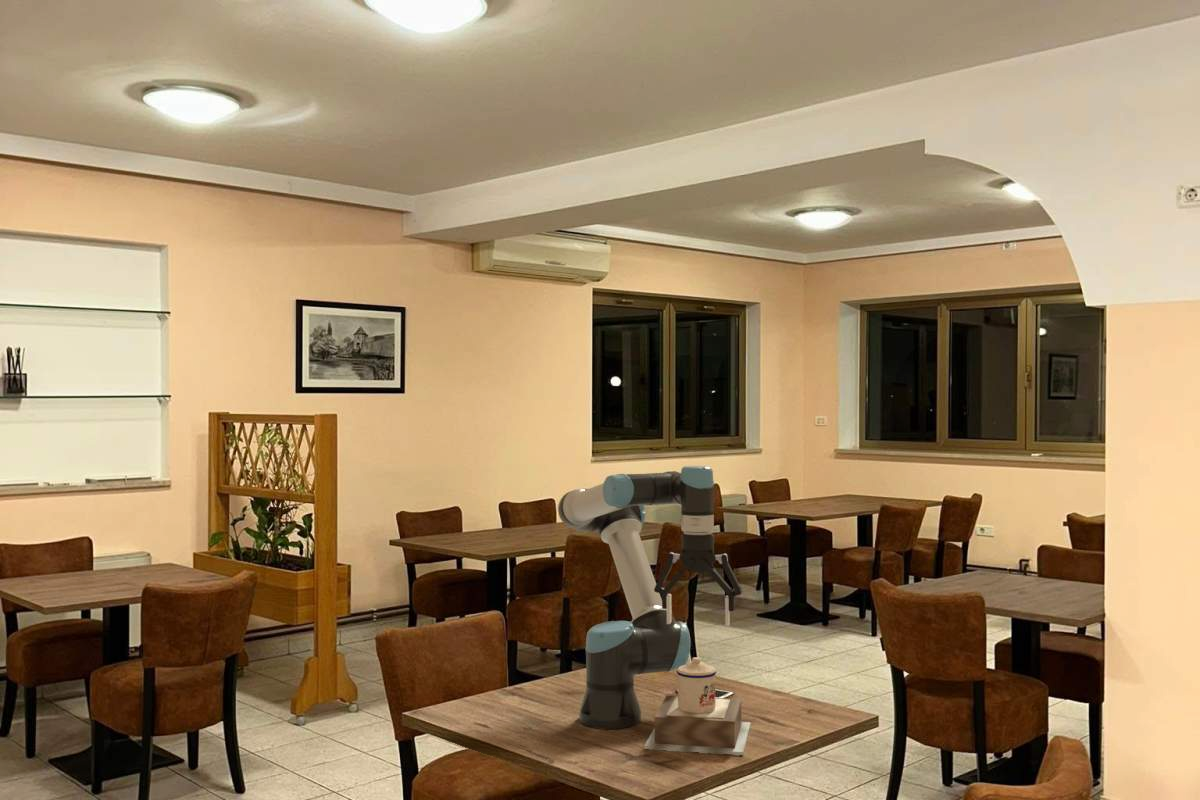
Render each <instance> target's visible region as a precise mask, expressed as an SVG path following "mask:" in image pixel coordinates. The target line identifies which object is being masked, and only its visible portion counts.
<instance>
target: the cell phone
mask: <svg viewBox="0 0 1200 800" xmlns="http://www.w3.org/2000/svg"><path fill="white" fill-rule="evenodd" d="M674 691H675V692H678V688H677V689H675V690H674ZM734 694H735V695H736V693H735V692H733V691H729V690H725V689H719V688H715V698H728V697H730V696H733V695H734ZM733 697H734V696H733ZM730 698H731V697H730ZM728 699H729V698H728Z"/></svg>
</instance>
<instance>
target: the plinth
mask: <svg viewBox="0 0 1200 800" xmlns="http://www.w3.org/2000/svg"><path fill="white" fill-rule="evenodd" d="M653 719H654V728H653V729H652V731H651V733H650V735H649V737H648V738H647V740H646V742H645V744H644V746H643V747H644V749H643V750H646V749H649V751H661V750H666V751H665V752H677V751H678V753H680V752H681V753H692V752H699V753H698V754H708V753H711V755H723V754H734V755H733V756H739V755H743V756H744V754H745V750H744V749H746V746H747V742H748V738H747V737H749V734H748V733H750V730H751V726H752V725H751V722H749V721H742V698H728V699H727V698H715V709H714V710H713V711H711V712H708V713H699V714H697V713H687V712H684V711H681V710H680V709H679V708H678V695H672V694H671V695H668V694H667V695H665V698H664V700H663V701H662V703H661V704H660V706H659V708H658V710H657V712H656V714H655V715H654V718H653ZM750 725H751V726H750ZM749 729H750V730H749ZM746 741H747V742H746ZM745 745H746V746H745ZM737 754H738V755H737Z"/></svg>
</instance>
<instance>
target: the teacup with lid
mask: <svg viewBox="0 0 1200 800" xmlns="http://www.w3.org/2000/svg"><path fill="white" fill-rule="evenodd" d="M701 660H702V659H701V657H697V656H696V657H694V656H693V657H692V658H691V661H689V662H686V664H685V665H683V666H680V667H679V668H678V669H676V674H677V689H678V693H677V696H678V708H679V709H680V710H681V711H684V712H687V713H697V714H699V713H708V712H711V711H713V710H714V709H715V689H716V674H717V671H716V669H715V667H713V666H712V665H708V664H707V663H705V662H704V661H701Z"/></svg>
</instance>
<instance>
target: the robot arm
mask: <svg viewBox="0 0 1200 800" xmlns="http://www.w3.org/2000/svg"><path fill="white" fill-rule="evenodd" d="M714 489H715V481H714V471H713V468H712V467H710V466H708V465H707V466H706V465H686V466H683V467H682V468H681V470H680V472H678V471H674V470H673V471H664V472H653V473H649V472H648V473H629V474H628V473H627V474H626V473H617V474H610V475H607V476H606V478H605V479H604V481H603V482H602V483H600V484H597V485H594V486H592V487H589V488H578V489H577V488H576V489H573V490H570V491H568V492H565V494H563V495H562V497H561V498H560V500H559V502H558V505H557V511H558V516H559V519H560V520H561V522H562V523H563V524H564V525H565V526H566V527H568V528H569V529H572V530H574V531H577V532H586V533H587V532H598V533H599V536H600V538H601V541H602V542H603V543H605V544H608V546H609V548H610V553H611V556H612V558H613V562H614V565H615V568H616V571H617V574H618V577H619V580H620V583H621V587H622V590H623V593H624V595H625V599H626V602H627V604H628V609H629V612H630V613H631V617H632V619H631V621H627V620H616V621H615V620H611V621H605V622H601V623H598V624H595V625H593V626H592V627H590V628H589V630H588V631H587V633H586V640H585V646H584V647H585V648H584V649H585V665H586V666H585V667H586V669H585V670H586V673H585V674H586V676H585V677H586V687H585V693H584V695H583V698H582V702H581V705H580V708H579V722H580V724H583V725H584V726H587V727H591V728H594V729H595V728H597V729H604V730H605V729H606V730H609V729H612V730H615V729H624V728H629V727H634V726H636V725H638V724H639V723H641V721H642V710H641V706H640V704H639V700H638V697H637V694H636V691H635V688H634V687H635V684H634V682H635V680H634V676H635V675H643V674H651V673H660V672H661V673H662V672H670V671H674V670H677V669H678V668H679V667H680V666H683V665H686V664H687V663H688V660H689V657H690V653H691V636H690V630H689V627H688V625H686V623H685V622H683V621H679V620H678V621H676V620H675V616H674V614H673V612H672V608H673V607H672V594H671V593H669V592H670V591H671V590H672V589H673V588H674V586H675V585H676V584H677V583H678V581H679V580H681V578H682V577H683V576H684V575H685V573H687V572H688V573H690V574H696V573H697V574H698V573H699V574H705V573H708V574H709V575H710V576H711V577H712V578H713V579H714V581H715V582H716V583H717V585H718V586H719V587H720V588H721V589H722V590H723V592H724V593H725V594H726V595H725V597H724V610H725V611H724V613H725V614H724V617H725V618H724V624H725V625H724V626H725V627H729V626H730V625H731V624H730V622H731V621H730V620H731V617H730V616H731V615H730V613H731V612H733V611H734V609H735V597H736V596H740V595H742V592H743V589H742V587H741V585H740V583H739V581H738V579H737V578H736V575H735V573H734V571H733V569H732V567H731V565H730V562H729V557H728V553H723V554H716V553H715V538H714V537H715V536H714V534H713V532H714V530H715V529H714V527H715V526H714V525H715V523H714V522H715V518H714V517H715V515H714V508H715V507H714V505H715V504H714V499H715V498H714V497H715V496H714V495H715V492H714ZM650 505H651V506H654V505H655V506H656V505H680V506H681V507H680V508H681V509H680V510H681V511H680V512H681V513H680V515H681V519H680V520H681V523H680V524H681V525H680V528H681V529H680V530H681V531H682V534H681V537H680V538H681V541H680V543H681V544H680V545H681V546H680V547H681V549H680V550H681V552H680V553H674V551H670V552H669V553H668V555H667V559H666V560H667V561H666V563H665V566H664V568H663V570H662V572H661V575H660V576H659V578H658V580H657V582H656V579H655V577H654V573H653V570H652V568H651V565H650V562H649V559H648V557H647V553H646V551H645V547H644V544H643V541H642V538H641V536H640V533H641V531H642V528H643V525H644V523H645V517H646V512H645V509H646V508H645V506H650ZM678 560H679V561H680V562H681V564H682V565H683V567H682V568H681V569H680V570H679V571H678V572H677V573H676V574H675V576H674V577H673V578H672V579H671V580H670V582H668V584H667V585H666V586H665V587H663V585H664V583H665V581H666V580H667V577H668V575H669V573H670V571H671V570H672V567H673V564H675V563H676V562H677V561H678ZM715 561H718V563H719V564H720V565H722V567H723V568H722V569H724V572H725V573H726V576H727V578H728V580H729V581H730V584H731V587H730V585H729V584H728V583H727V582H726V580H724V578H723V577H722V575H721V574H720V573H719V572H718V571H717V569H716V568H715V566H714V565H713V564H714V563H715ZM732 588H733V589H732Z"/></svg>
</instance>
